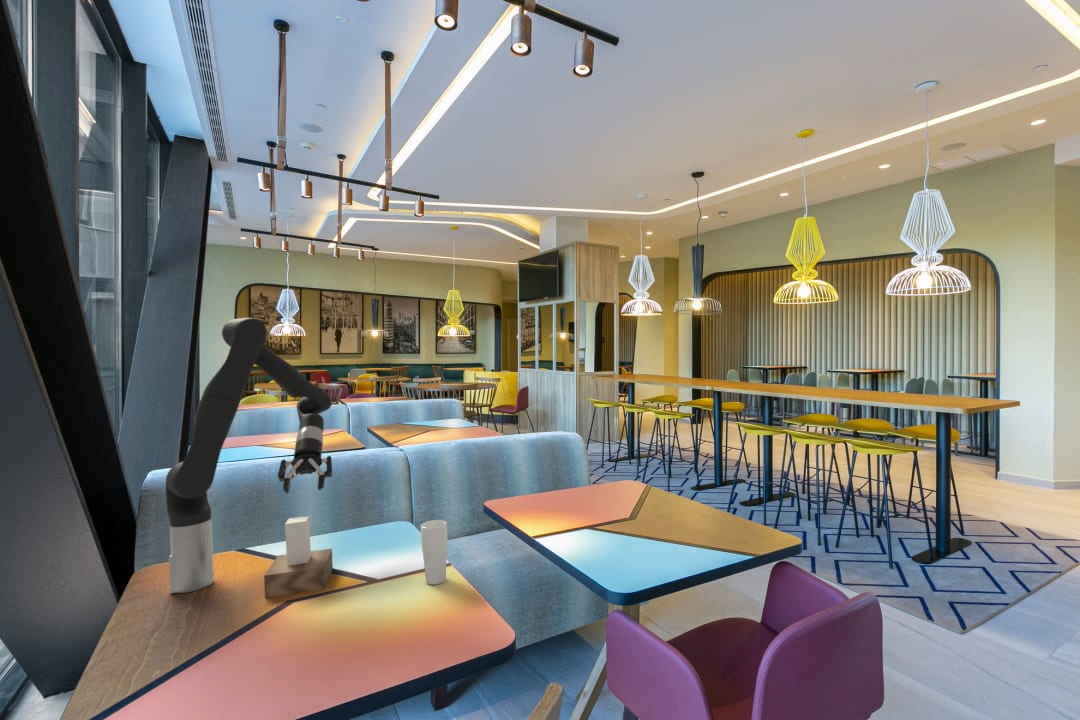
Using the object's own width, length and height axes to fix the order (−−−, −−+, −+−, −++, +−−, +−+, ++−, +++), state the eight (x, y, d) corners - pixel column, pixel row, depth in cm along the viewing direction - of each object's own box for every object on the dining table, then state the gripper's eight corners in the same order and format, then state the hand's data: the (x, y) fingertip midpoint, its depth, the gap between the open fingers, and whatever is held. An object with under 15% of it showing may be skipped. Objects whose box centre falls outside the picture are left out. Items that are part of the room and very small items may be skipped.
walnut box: (265, 599, 125) (264, 575, 125) (278, 577, 138) (277, 555, 138) (325, 590, 129) (324, 567, 129) (332, 569, 142) (331, 548, 142)
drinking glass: (443, 587, 126) (440, 528, 126) (418, 586, 128) (416, 527, 128) (453, 576, 133) (450, 520, 133) (429, 575, 134) (427, 519, 134)
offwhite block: (287, 565, 131) (285, 523, 131) (290, 558, 135) (288, 518, 136) (307, 562, 132) (305, 521, 132) (310, 556, 137) (308, 515, 137)
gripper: (281, 438, 149) (273, 485, 137) (332, 435, 152) (328, 480, 141) (286, 453, 154) (278, 500, 142) (335, 449, 157) (331, 494, 146)
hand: (303, 490), depth 142 cm, fingers open, 8 cm apart
